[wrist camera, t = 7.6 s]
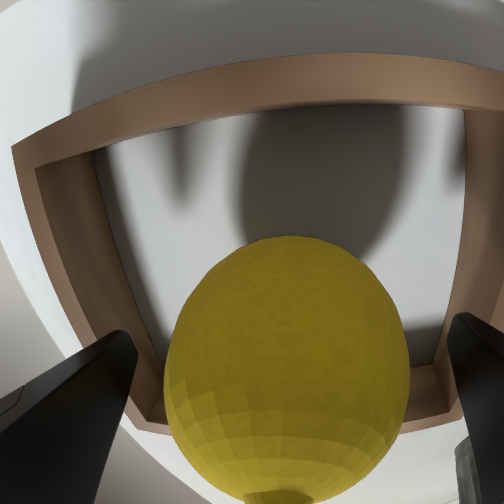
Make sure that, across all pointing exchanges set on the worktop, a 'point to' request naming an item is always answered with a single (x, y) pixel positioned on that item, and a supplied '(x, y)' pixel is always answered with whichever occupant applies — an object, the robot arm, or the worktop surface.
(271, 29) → the worktop surface
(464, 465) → the beverage cup
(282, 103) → the box
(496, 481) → the robot arm
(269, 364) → the lemon
